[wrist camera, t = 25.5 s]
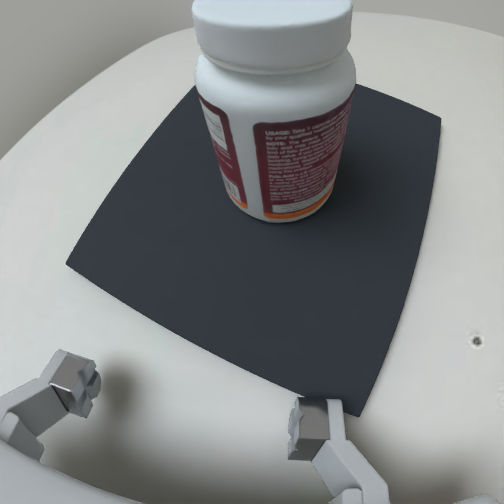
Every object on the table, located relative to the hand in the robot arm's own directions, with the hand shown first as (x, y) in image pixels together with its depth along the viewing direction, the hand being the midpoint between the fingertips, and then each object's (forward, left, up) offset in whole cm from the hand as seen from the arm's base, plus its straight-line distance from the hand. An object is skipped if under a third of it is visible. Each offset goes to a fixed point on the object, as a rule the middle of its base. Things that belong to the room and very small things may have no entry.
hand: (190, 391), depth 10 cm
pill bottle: (+9, +1, -1) cm, 9 cm away
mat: (+10, +1, -1) cm, 10 cm away
